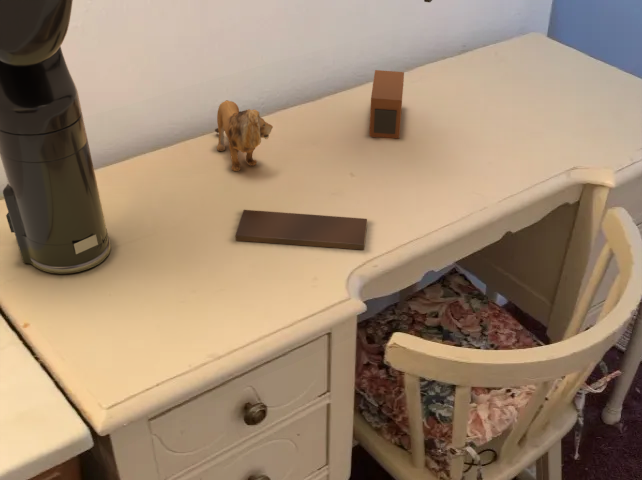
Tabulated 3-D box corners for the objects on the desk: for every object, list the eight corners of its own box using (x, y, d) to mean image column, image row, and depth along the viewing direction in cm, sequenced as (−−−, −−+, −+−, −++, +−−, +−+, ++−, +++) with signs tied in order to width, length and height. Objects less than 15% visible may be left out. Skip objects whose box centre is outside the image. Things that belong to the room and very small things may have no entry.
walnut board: (235, 240, 104) (235, 235, 103) (243, 214, 108) (243, 209, 107) (363, 250, 104) (364, 244, 103) (367, 223, 108) (367, 218, 107)
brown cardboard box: (369, 137, 125) (370, 98, 121) (373, 107, 132) (375, 69, 128) (399, 139, 125) (401, 101, 121) (401, 109, 132) (404, 71, 128)
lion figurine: (278, 174, 116) (276, 112, 110) (243, 183, 113) (239, 121, 107) (231, 130, 124) (226, 70, 118) (198, 138, 122) (191, 77, 116)
